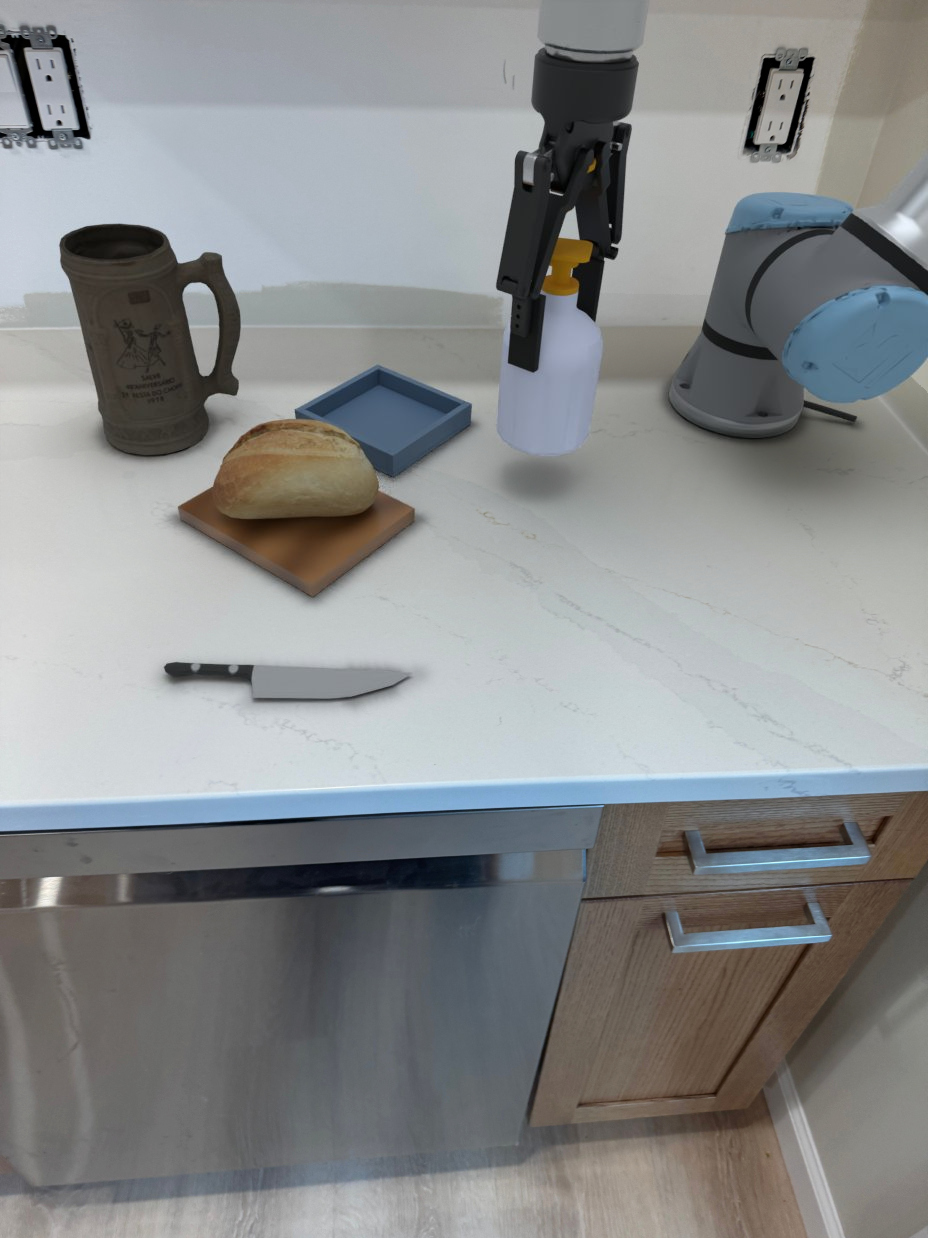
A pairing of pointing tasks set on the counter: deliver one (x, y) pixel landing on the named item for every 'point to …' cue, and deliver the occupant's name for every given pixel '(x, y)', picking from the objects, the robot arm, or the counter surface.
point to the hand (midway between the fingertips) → (552, 346)
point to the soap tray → (390, 416)
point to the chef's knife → (295, 679)
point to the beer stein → (147, 334)
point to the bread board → (302, 538)
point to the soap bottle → (554, 367)
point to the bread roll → (294, 473)
